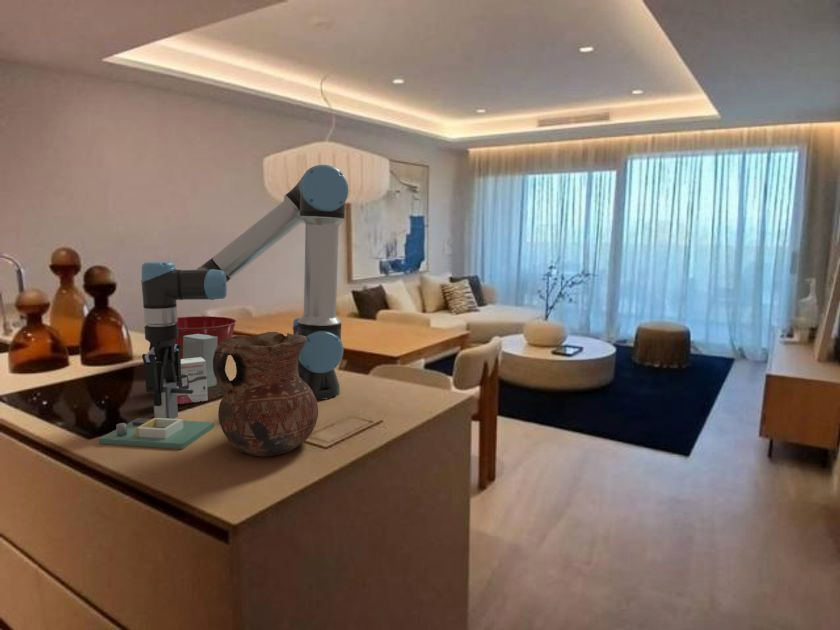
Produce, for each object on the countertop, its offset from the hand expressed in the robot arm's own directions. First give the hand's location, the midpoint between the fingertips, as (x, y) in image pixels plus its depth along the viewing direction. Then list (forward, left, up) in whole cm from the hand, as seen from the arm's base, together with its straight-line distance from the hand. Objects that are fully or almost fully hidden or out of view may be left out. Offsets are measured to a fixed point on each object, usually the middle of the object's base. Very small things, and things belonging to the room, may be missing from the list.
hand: (166, 414), depth 139 cm
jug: (-33, +13, -1) cm, 35 cm away
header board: (-5, +11, -1) cm, 12 cm away
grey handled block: (-2, 0, -1) cm, 3 cm away
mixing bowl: (+24, -58, -1) cm, 63 cm away
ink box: (+2, -15, -1) cm, 15 cm away
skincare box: (+7, -30, -1) cm, 31 cm away
